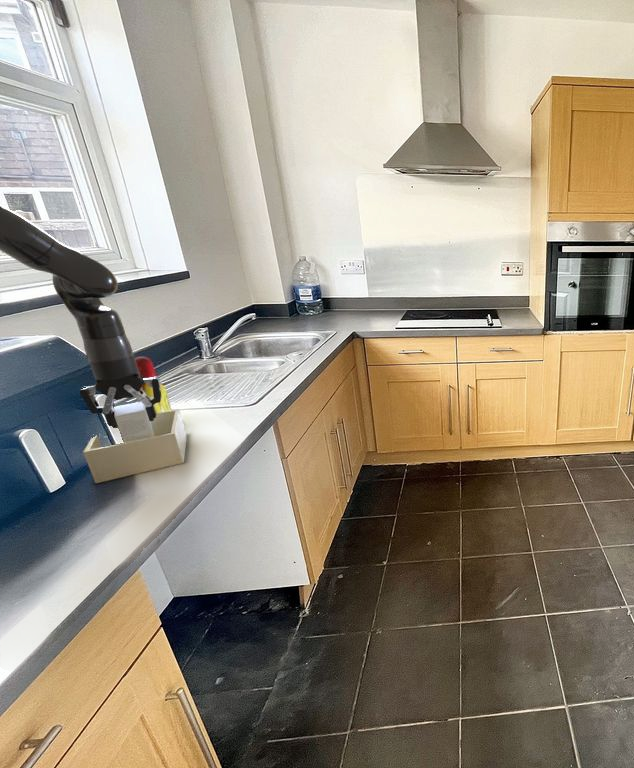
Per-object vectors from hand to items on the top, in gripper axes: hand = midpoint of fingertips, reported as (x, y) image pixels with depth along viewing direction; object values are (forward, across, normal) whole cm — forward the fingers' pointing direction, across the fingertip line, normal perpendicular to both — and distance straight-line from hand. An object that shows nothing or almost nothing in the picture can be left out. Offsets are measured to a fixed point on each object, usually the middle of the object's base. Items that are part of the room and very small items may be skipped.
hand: (134, 423), depth 99 cm
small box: (+7, 0, 0) cm, 7 cm away
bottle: (+9, -1, -23) cm, 25 cm away
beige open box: (+9, 0, 0) cm, 9 cm away
